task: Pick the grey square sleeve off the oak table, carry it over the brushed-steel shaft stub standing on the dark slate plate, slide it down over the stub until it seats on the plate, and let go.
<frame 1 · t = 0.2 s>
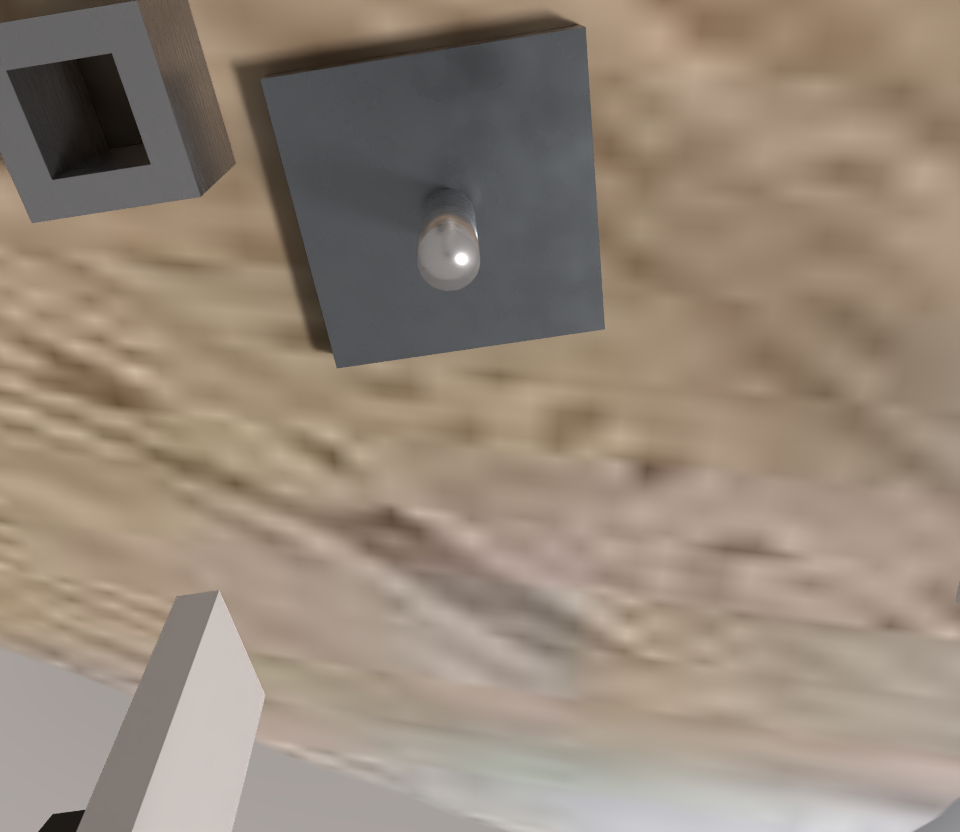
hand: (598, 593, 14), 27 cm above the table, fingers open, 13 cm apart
shaft stand: (447, 207, 37), on the table
grey square sleeve: (135, 96, 34), on the table
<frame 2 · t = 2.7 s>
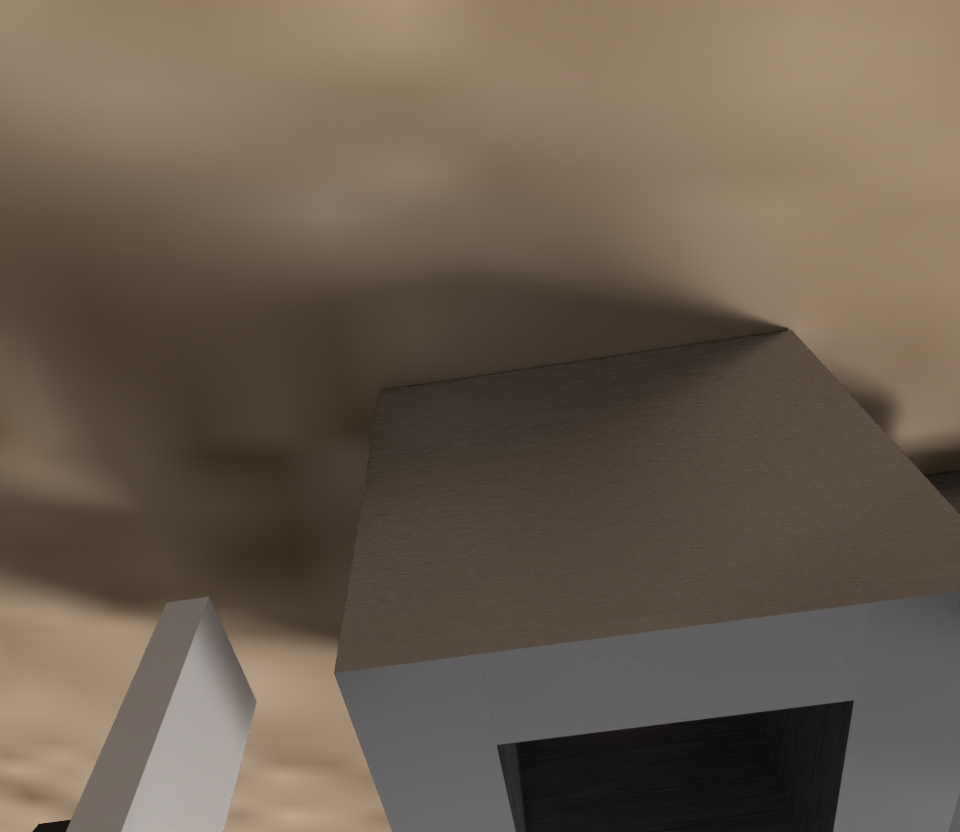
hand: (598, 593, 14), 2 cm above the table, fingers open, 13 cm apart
grey square sleeve: (597, 521, 15), on the table
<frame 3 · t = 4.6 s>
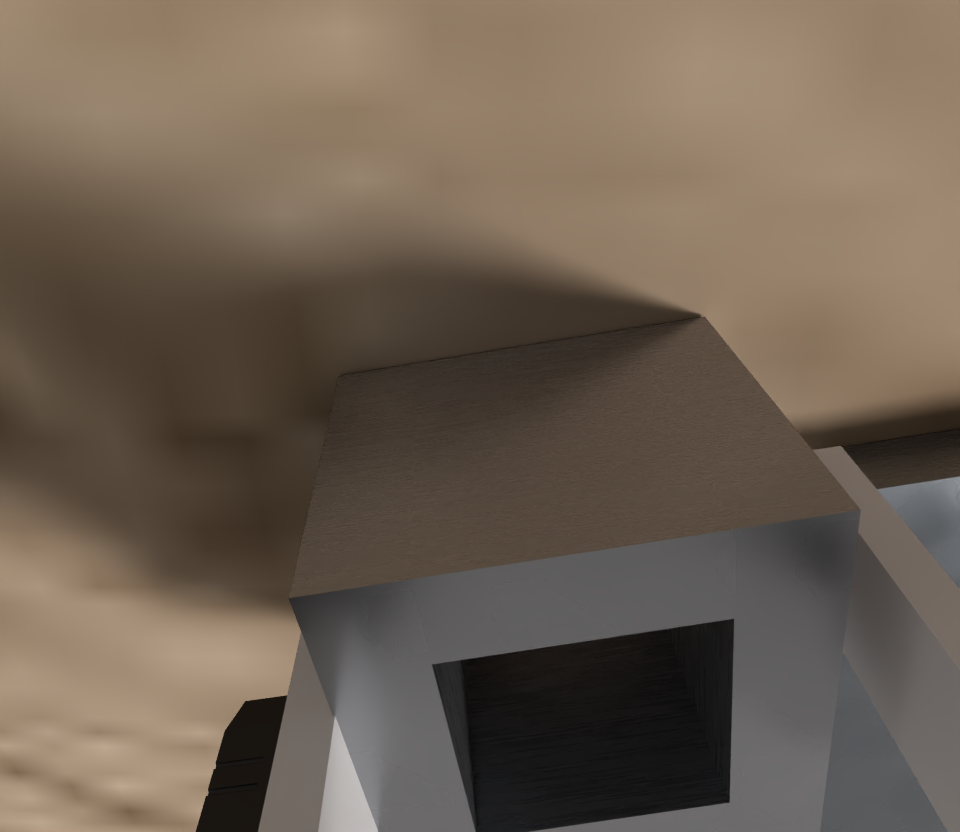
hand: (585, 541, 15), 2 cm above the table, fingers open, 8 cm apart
grey square sleeve: (540, 494, 16), on the table, touching gripper
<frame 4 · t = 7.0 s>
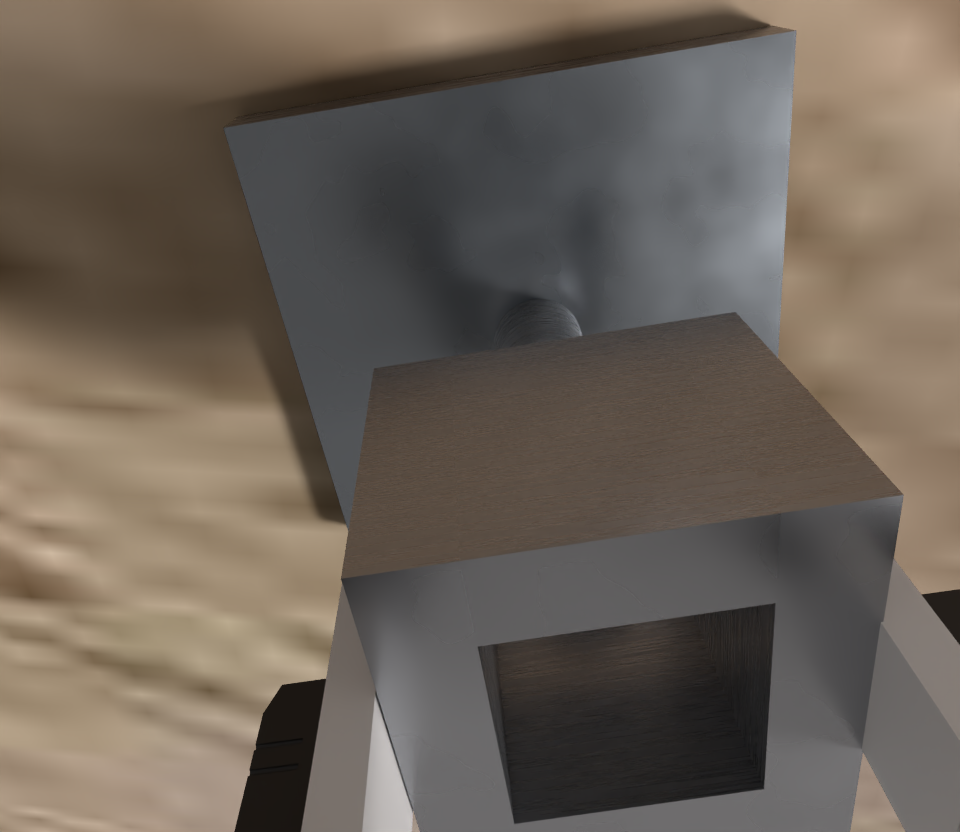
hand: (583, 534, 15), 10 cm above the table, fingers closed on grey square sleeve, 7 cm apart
shaft stand: (532, 318, 23), on the table
grey square sleeve: (569, 488, 16), point 8 cm above the table, touching gripper
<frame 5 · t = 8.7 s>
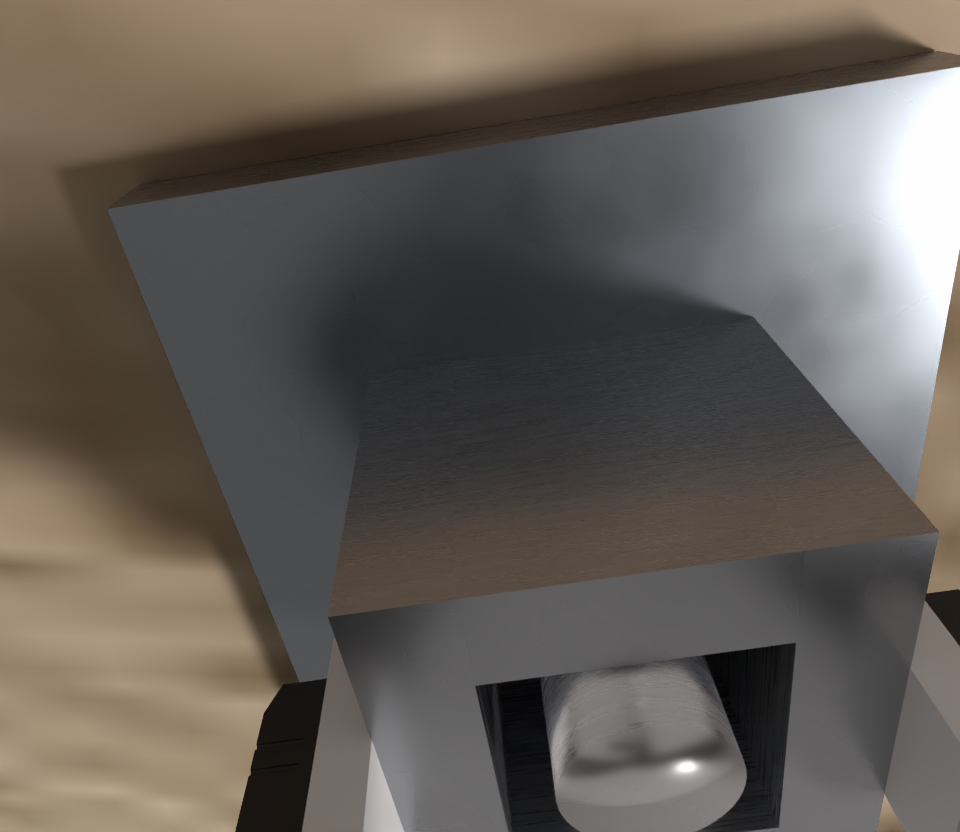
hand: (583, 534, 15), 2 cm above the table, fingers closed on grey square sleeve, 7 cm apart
shaft stand: (566, 451, 17), on the table
grey square sleeve: (575, 498, 16), point 1 cm above the table, touching gripper, shaft stand
when the fingers open (2 cm above the table, at t = 9.3 s): grey square sleeve stays where it is, resting on shaft stand.
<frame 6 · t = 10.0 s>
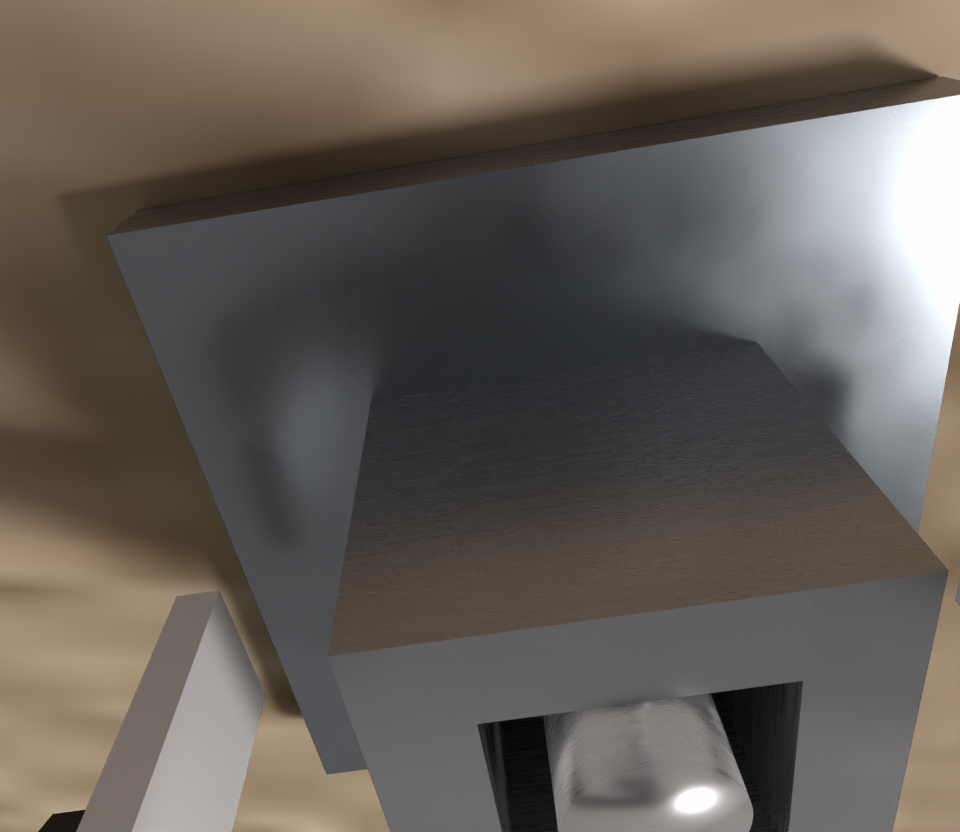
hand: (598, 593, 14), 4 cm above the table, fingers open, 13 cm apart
shaft stand: (568, 474, 17), on the table
grey square sleeve: (578, 523, 16), point 1 cm above the table, touching shaft stand
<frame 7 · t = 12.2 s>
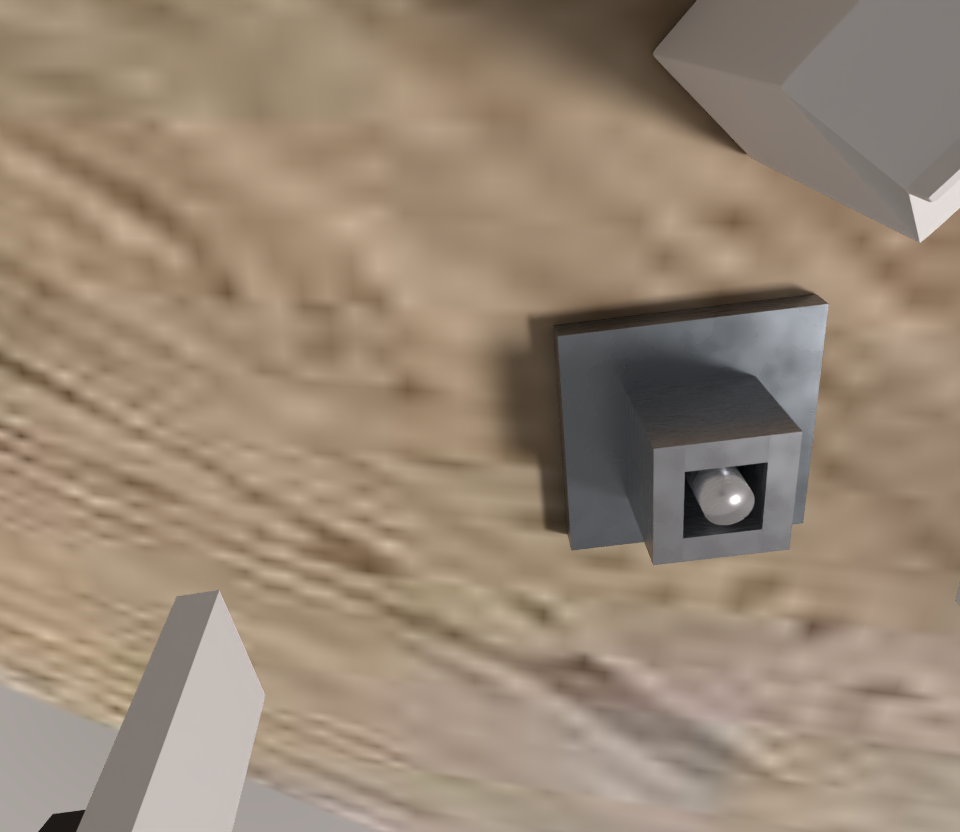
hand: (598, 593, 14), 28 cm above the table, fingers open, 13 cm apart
shaft stand: (682, 423, 44), on the table
grey square sleeve: (689, 439, 43), point 1 cm above the table, touching shaft stand
milk carton: (758, 43, 35), on the table
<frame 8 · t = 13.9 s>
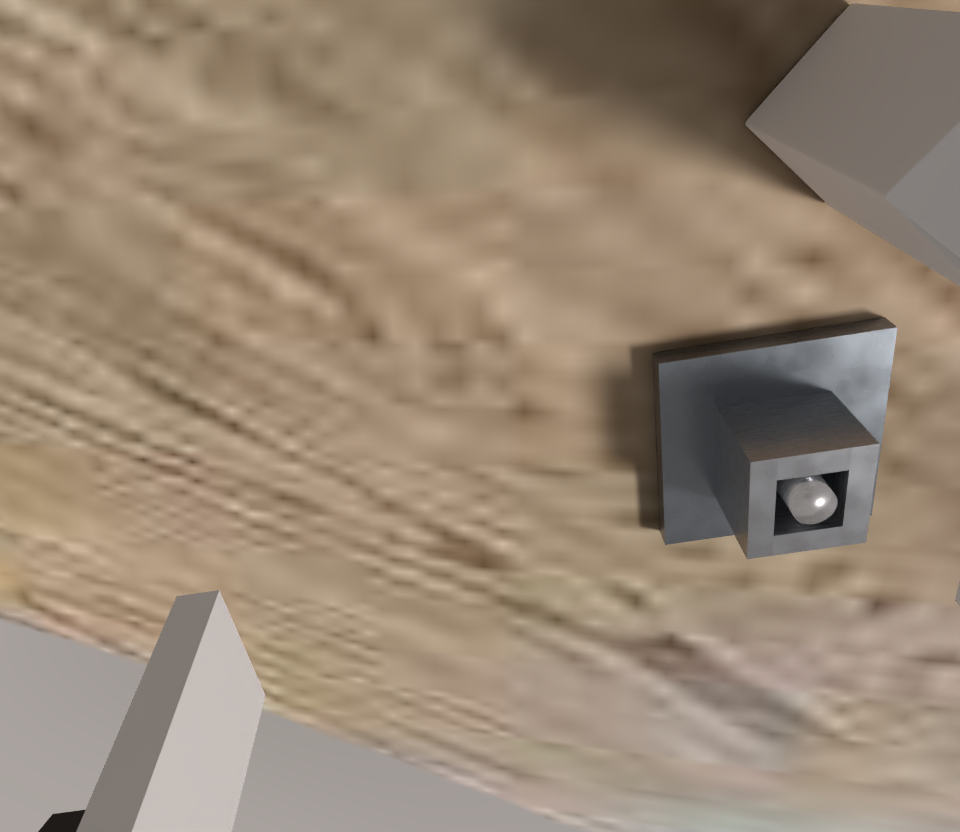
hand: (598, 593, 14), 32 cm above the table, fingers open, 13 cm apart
shaft stand: (763, 432, 50), on the table
grey square sleeve: (771, 446, 49), point 1 cm above the table, touching shaft stand
milk carton: (836, 109, 40), on the table
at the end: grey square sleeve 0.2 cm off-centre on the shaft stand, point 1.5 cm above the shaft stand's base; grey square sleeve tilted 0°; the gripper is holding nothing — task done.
